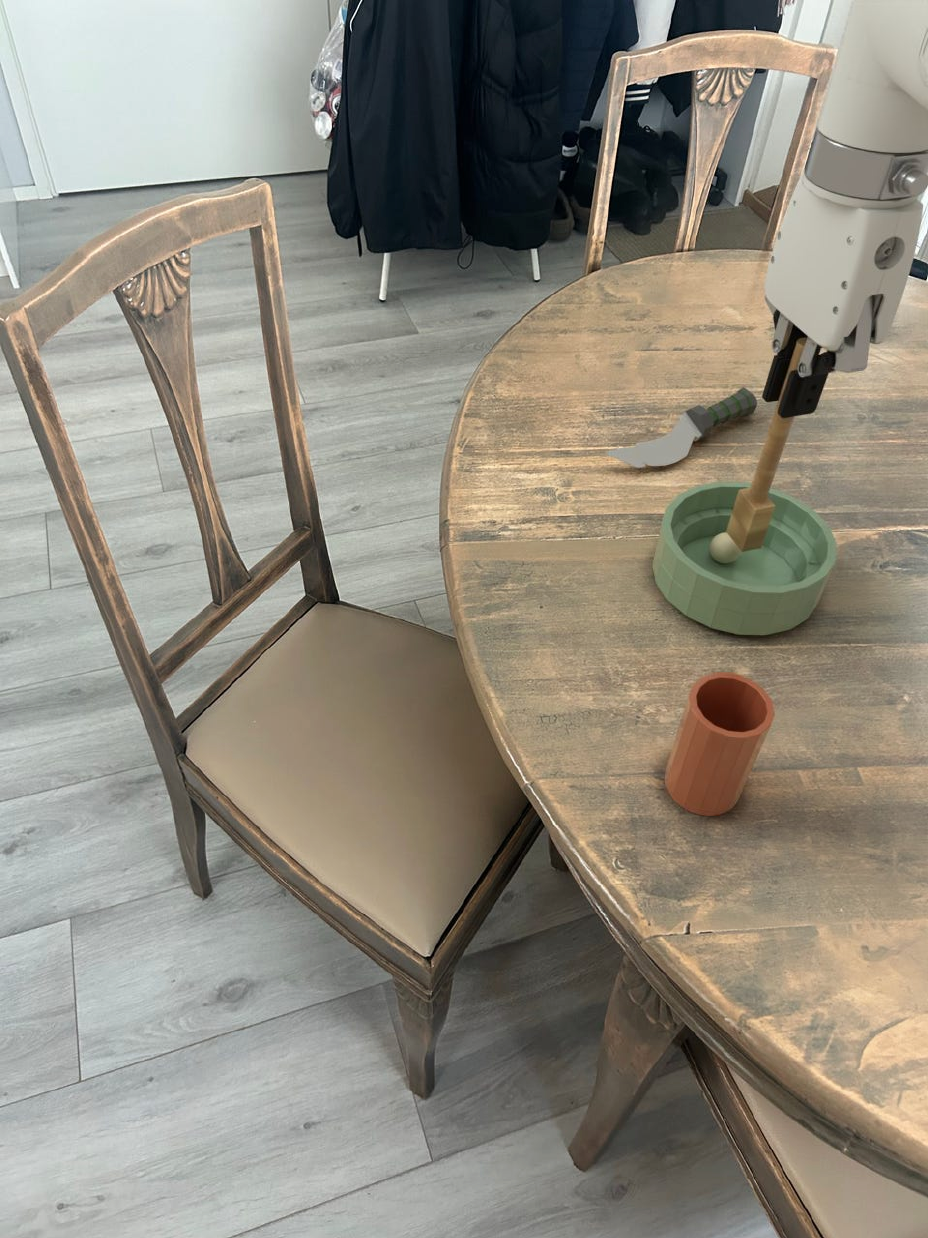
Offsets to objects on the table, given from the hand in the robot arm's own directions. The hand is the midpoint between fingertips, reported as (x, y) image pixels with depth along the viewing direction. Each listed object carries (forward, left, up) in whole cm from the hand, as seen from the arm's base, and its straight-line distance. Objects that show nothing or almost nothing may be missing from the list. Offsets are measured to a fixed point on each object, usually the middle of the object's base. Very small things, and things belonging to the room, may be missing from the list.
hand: (787, 404), depth 71 cm
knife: (+22, -6, -20) cm, 30 cm away
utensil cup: (-20, +14, -19) cm, 31 cm away
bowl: (0, 0, -19) cm, 19 cm away
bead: (+2, 0, -17) cm, 17 cm away
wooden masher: (0, 0, -15) cm, 15 cm away
